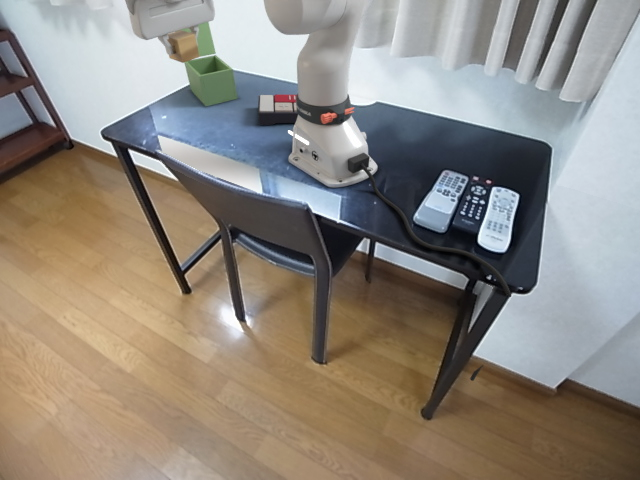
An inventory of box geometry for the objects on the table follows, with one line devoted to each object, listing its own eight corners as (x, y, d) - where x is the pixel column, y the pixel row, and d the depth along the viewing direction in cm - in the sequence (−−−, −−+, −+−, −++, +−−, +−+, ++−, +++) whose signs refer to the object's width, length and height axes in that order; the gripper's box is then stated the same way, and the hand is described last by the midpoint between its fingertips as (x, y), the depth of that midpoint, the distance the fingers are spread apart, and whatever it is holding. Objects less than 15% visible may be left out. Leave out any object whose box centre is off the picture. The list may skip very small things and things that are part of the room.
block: (199, 56, 90) (194, 34, 86) (182, 63, 87) (177, 39, 84) (186, 52, 92) (181, 30, 88) (169, 58, 89) (163, 35, 86)
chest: (237, 98, 114) (232, 69, 108) (205, 106, 110) (199, 76, 104) (221, 83, 122) (215, 55, 116) (191, 90, 118) (183, 61, 112)
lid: (203, -1, 107) (202, -1, 108) (168, 4, 103) (167, 4, 104) (215, 53, 115) (215, 53, 116) (183, 59, 112) (183, 59, 112)
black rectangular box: (313, 110, 100) (257, 110, 99) (313, 125, 103) (258, 125, 102) (310, 93, 108) (258, 92, 107) (310, 107, 111) (259, 107, 110)
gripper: (131, -9, 71) (153, 66, 81) (213, -26, 83) (224, 41, 93) (112, -13, 74) (136, 59, 84) (194, -29, 86) (207, 36, 95)
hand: (183, 50), depth 88 cm, fingers closed on block, 5 cm apart
